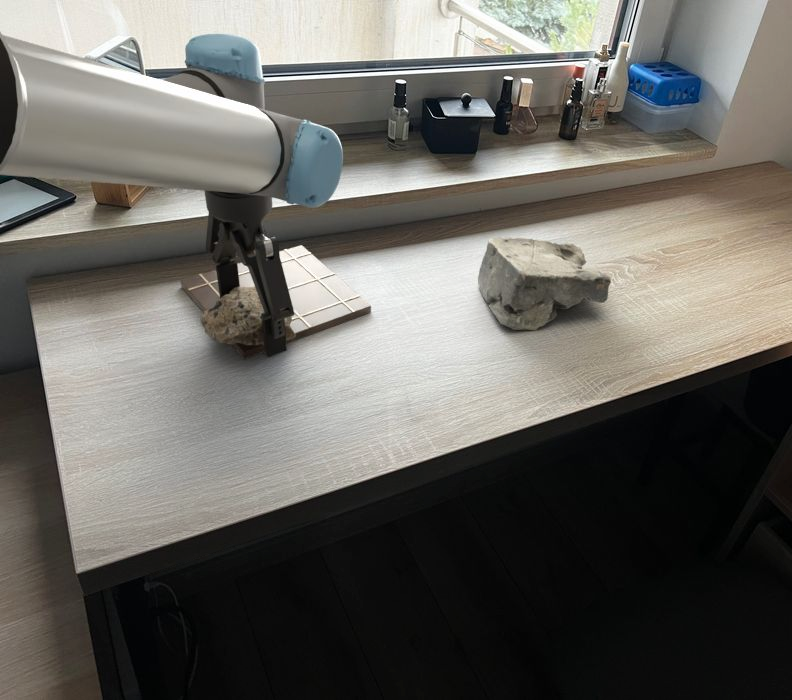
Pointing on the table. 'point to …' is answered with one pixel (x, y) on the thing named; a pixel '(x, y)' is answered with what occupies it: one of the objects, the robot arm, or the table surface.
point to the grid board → (292, 295)
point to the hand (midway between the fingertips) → (252, 327)
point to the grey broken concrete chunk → (536, 280)
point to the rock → (238, 318)
